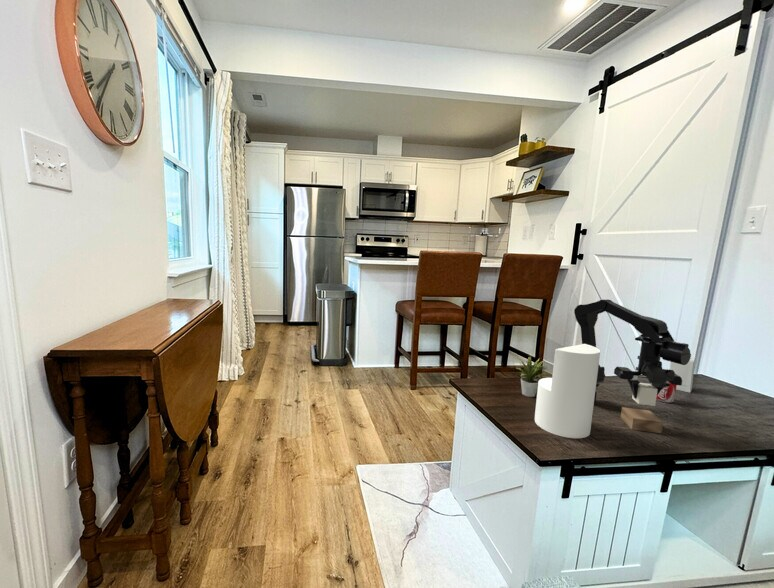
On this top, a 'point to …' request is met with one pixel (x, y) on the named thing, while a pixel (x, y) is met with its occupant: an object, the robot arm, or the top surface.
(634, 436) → the top surface
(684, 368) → the skincare box
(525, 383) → the house plant
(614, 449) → the top surface
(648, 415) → the tan square slab
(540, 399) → the white stepped curved block
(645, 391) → the cream cube
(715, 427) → the top surface
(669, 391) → the soda can
